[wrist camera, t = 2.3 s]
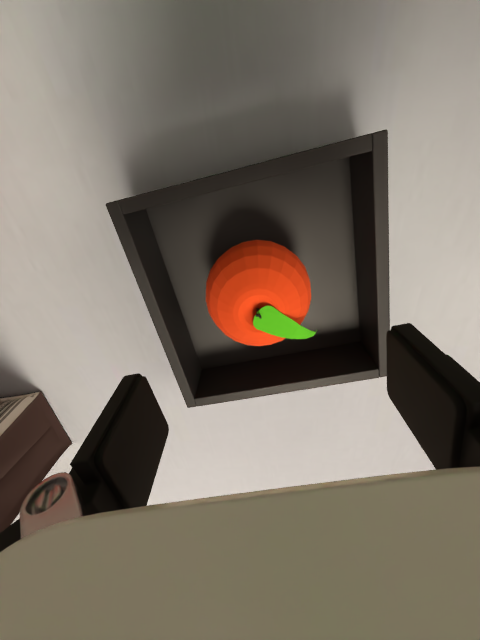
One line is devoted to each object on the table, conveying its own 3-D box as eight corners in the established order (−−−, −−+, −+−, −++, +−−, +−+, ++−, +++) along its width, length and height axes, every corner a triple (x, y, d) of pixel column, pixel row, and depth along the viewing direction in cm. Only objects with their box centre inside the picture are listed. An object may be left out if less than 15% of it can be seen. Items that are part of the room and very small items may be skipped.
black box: (356, 139, 19) (388, 128, 15) (366, 342, 25) (390, 375, 21) (134, 198, 21) (104, 203, 17) (197, 372, 27) (187, 408, 23)
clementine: (332, 266, 22) (365, 302, 15) (283, 336, 25) (294, 392, 18) (237, 213, 20) (231, 229, 14) (197, 294, 23) (177, 338, 17)
